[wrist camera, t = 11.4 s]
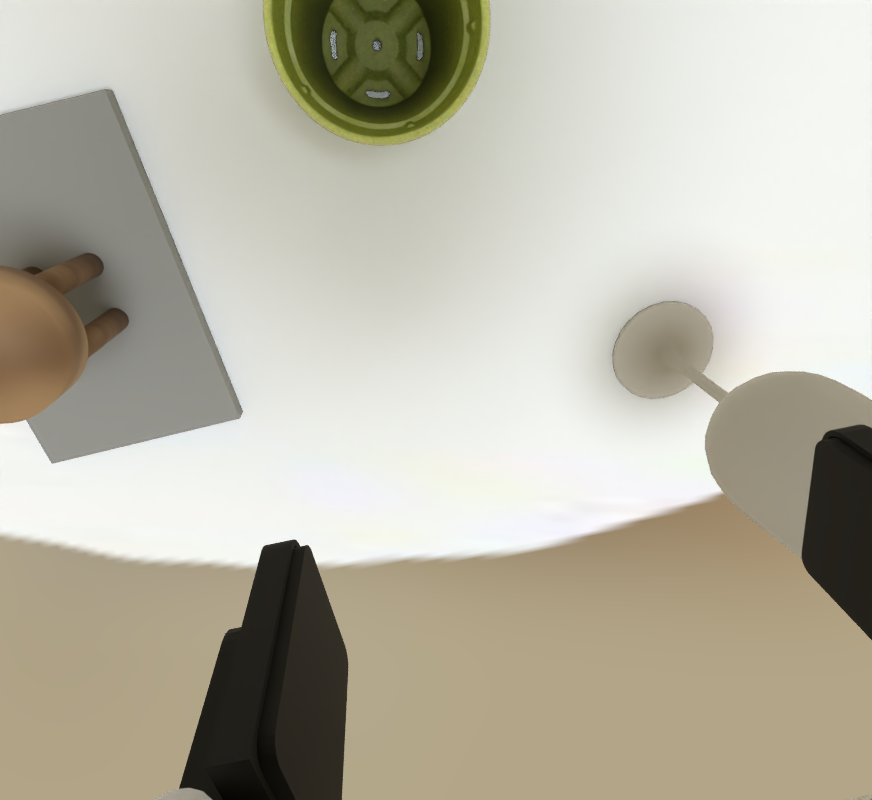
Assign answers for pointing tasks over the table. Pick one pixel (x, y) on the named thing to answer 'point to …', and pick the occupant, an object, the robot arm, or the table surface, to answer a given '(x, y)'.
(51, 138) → the mat
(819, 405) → the wineglass
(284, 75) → the plant pot
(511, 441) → the table surface
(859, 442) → the robot arm
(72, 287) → the stool
